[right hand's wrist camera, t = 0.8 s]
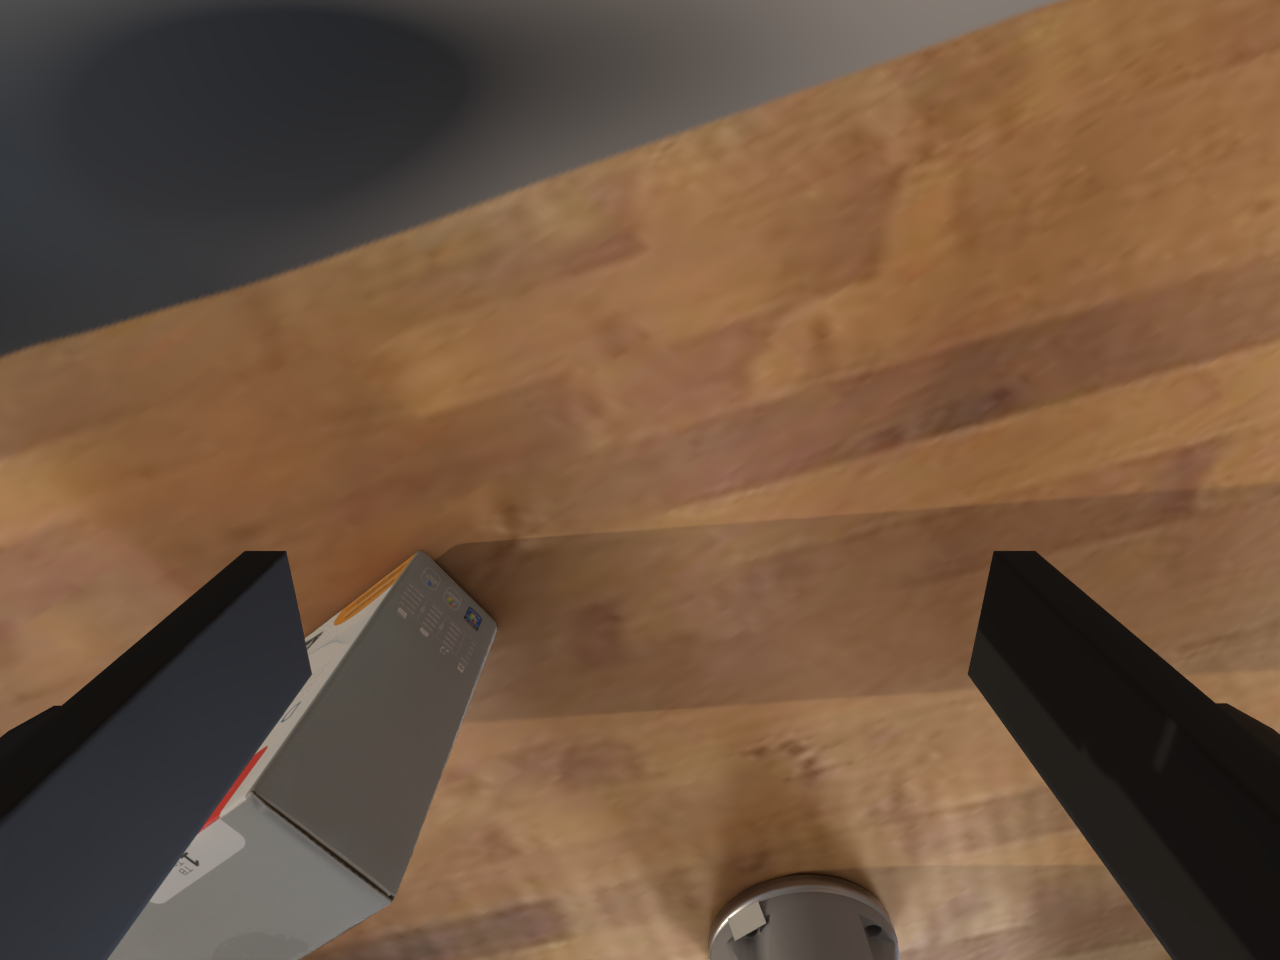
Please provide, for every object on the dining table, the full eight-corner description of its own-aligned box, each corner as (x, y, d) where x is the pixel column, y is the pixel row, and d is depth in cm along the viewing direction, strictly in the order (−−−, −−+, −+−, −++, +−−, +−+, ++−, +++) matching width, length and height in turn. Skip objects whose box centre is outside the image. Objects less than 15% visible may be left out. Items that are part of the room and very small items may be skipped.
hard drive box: (421, 543, 43) (256, 788, 25) (502, 623, 45) (407, 905, 27) (260, 668, 47) (9, 967, 28) (343, 738, 49) (160, 1058, 30)
